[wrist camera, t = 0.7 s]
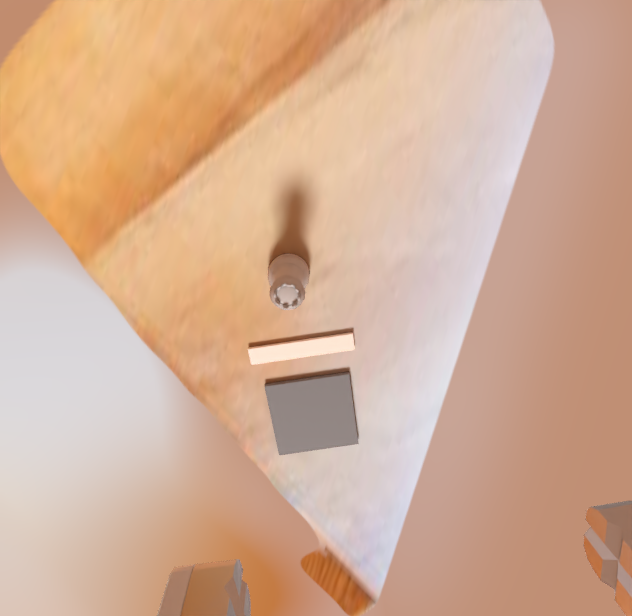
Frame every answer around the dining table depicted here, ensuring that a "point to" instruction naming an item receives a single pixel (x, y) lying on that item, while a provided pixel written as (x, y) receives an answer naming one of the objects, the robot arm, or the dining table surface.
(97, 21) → the dining table surface
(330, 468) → the dining table surface
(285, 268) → the rook chess piece
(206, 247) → the dining table surface
